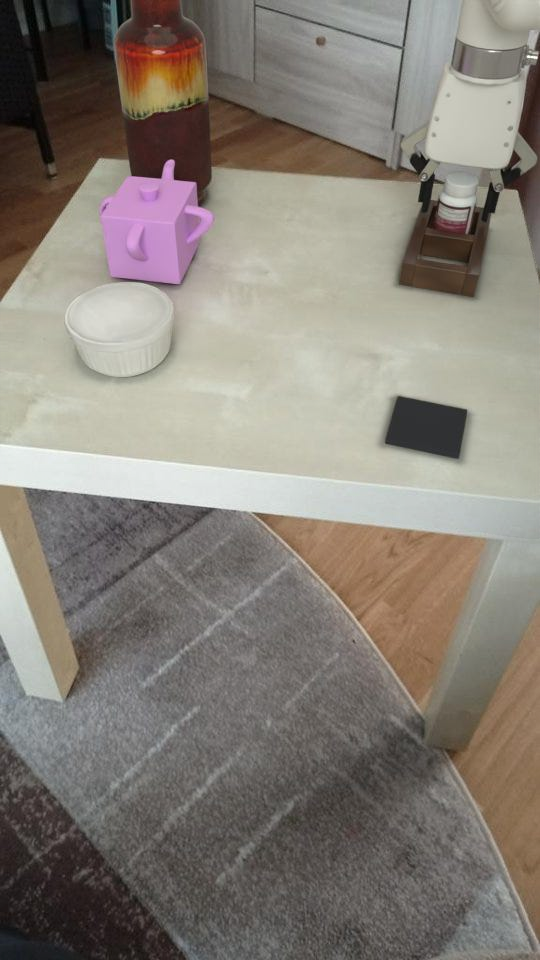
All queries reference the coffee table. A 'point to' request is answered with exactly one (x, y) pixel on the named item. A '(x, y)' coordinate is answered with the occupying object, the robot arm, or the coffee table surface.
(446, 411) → the mat
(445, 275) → the holder
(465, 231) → the pill bottle
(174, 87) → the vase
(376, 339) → the coffee table surface
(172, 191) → the teapot
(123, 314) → the ramekin
